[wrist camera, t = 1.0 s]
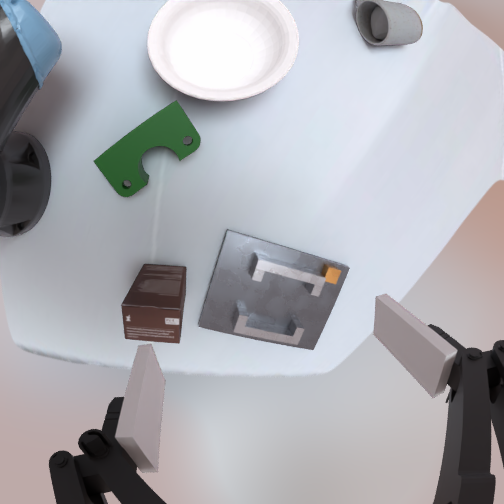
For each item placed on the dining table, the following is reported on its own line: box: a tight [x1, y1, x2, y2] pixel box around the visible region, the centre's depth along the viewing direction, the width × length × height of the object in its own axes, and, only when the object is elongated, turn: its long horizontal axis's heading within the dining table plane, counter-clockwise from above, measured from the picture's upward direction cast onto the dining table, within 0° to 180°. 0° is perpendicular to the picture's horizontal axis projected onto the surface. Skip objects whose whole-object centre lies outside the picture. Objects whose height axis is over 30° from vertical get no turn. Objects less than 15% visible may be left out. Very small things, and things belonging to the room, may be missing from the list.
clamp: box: [94, 100, 201, 197], centre depth 31 cm, size 12×6×9 cm, turn 116°
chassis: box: [199, 229, 349, 350], centre depth 40 cm, size 18×14×4 cm
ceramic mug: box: [356, 0, 423, 45], centre depth 28 cm, size 11×8×8 cm
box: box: [121, 264, 187, 343], centre depth 33 cm, size 6×4×12 cm
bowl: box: [147, 0, 299, 101], centre depth 28 cm, size 16×16×9 cm
